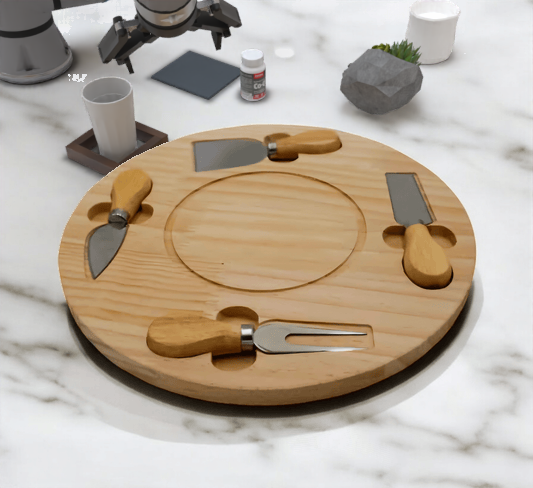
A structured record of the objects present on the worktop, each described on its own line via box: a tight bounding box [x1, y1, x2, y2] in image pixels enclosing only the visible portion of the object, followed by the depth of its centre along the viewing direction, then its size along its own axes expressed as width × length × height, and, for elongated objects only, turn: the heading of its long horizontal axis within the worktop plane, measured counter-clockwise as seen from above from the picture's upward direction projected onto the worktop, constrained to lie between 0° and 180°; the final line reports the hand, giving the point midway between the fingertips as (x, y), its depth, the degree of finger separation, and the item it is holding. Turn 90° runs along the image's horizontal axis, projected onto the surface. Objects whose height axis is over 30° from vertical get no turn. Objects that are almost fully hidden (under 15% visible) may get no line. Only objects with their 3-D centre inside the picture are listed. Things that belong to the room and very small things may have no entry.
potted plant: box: [339, 39, 424, 116], centre depth 117 cm, size 12×13×15 cm
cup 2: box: [404, 0, 462, 65], centre depth 130 cm, size 10×10×10 cm
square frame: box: [64, 120, 170, 176], centre depth 109 cm, size 12×12×2 cm
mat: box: [150, 50, 240, 100], centre depth 127 cm, size 14×12×1 cm
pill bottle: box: [239, 48, 267, 102], centre depth 120 cm, size 5×5×8 cm
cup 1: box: [80, 76, 139, 163], centre depth 106 cm, size 8×8×12 cm
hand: (172, 53), depth 99 cm, fingers open, 13 cm apart
